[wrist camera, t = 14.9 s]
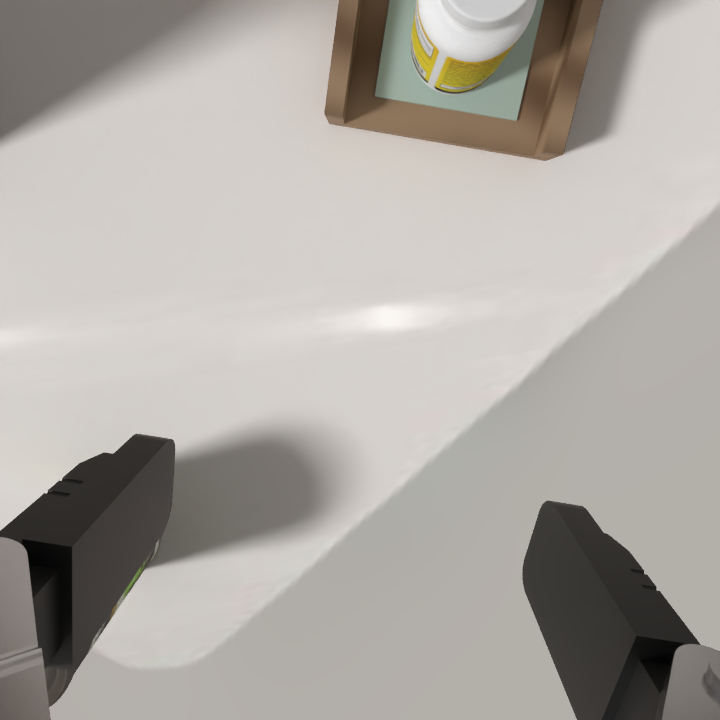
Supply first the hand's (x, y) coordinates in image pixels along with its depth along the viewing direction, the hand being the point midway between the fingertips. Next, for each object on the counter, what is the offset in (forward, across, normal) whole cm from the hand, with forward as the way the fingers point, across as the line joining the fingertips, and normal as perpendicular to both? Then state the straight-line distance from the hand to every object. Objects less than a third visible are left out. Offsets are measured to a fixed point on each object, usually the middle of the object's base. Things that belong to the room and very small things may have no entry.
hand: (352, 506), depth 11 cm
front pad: (+30, -3, -18) cm, 35 cm away
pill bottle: (+29, -3, -18) cm, 34 cm away
